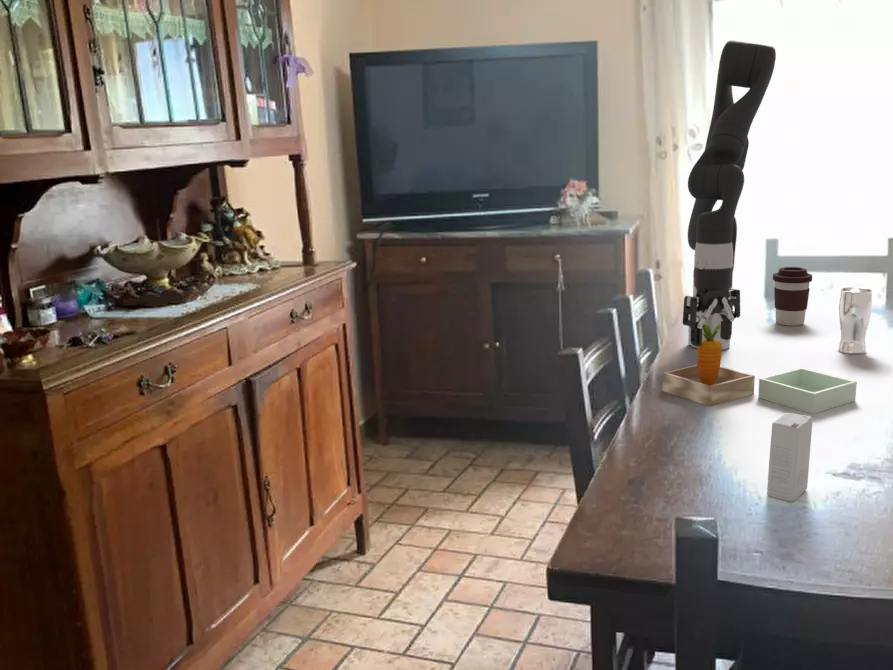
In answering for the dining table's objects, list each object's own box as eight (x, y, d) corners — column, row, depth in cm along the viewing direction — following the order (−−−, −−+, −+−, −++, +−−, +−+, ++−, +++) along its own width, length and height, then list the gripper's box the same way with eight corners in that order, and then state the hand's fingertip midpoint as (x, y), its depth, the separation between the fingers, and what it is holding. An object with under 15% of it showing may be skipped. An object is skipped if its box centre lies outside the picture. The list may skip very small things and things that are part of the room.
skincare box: (780, 483, 143) (784, 410, 140) (809, 490, 140) (814, 416, 137) (765, 496, 138) (769, 421, 135) (794, 504, 135) (799, 427, 132)
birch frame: (662, 390, 191) (662, 372, 191) (706, 380, 198) (706, 362, 197) (709, 406, 181) (710, 387, 180) (753, 394, 187) (754, 375, 186)
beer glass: (871, 355, 213) (876, 292, 209) (839, 354, 214) (844, 292, 210) (864, 348, 219) (868, 287, 216) (833, 347, 221) (837, 287, 217)
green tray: (758, 397, 185) (759, 378, 184) (800, 385, 192) (801, 367, 191) (813, 413, 174) (814, 393, 173) (855, 400, 181) (856, 381, 180)
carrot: (720, 389, 191) (723, 320, 187) (719, 396, 186) (722, 325, 183) (696, 388, 192) (698, 319, 189) (694, 395, 188) (696, 324, 184)
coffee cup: (812, 321, 248) (816, 267, 244) (805, 328, 240) (808, 272, 236) (775, 318, 253) (778, 264, 249) (766, 325, 245) (769, 270, 241)
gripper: (723, 258, 190) (720, 334, 193) (674, 266, 182) (672, 344, 186) (752, 262, 183) (749, 340, 187) (702, 270, 176) (700, 351, 180)
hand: (711, 342), depth 187 cm, fingers open, 8 cm apart
